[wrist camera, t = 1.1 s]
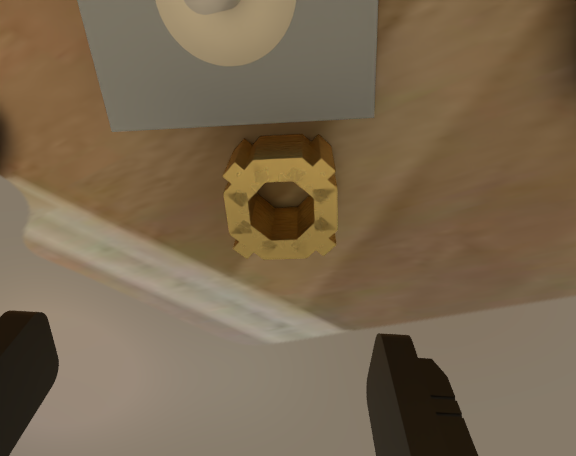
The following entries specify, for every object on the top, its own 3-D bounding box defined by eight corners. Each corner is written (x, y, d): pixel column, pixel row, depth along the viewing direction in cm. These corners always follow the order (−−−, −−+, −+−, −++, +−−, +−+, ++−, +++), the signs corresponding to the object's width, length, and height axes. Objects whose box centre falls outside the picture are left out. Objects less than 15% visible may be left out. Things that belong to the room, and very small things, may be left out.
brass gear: (332, 132, 24) (337, 156, 21) (333, 222, 27) (337, 256, 24) (230, 137, 25) (218, 161, 21) (242, 226, 27) (233, 260, 24)
